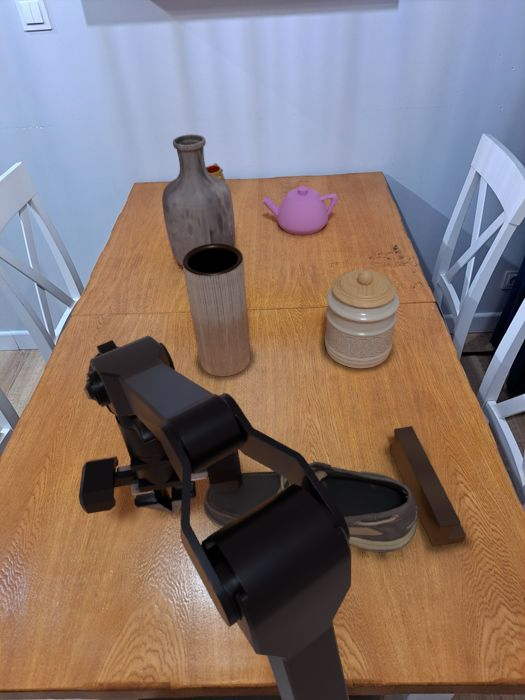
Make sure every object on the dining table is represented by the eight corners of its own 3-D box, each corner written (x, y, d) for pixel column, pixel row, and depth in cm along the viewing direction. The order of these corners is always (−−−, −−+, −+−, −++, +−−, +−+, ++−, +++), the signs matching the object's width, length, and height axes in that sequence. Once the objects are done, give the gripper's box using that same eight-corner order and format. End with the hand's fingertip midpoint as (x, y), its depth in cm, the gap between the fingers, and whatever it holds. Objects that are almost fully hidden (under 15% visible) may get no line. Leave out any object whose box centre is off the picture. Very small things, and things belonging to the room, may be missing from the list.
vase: (247, 272, 118) (237, 145, 98) (182, 288, 114) (159, 159, 94) (226, 242, 130) (214, 122, 109) (167, 255, 126) (143, 134, 106)
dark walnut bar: (463, 541, 66) (474, 519, 62) (431, 547, 66) (440, 526, 62) (416, 447, 78) (423, 423, 74) (389, 451, 78) (394, 428, 74)
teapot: (264, 214, 141) (263, 177, 134) (334, 213, 139) (336, 176, 132) (261, 237, 130) (260, 200, 123) (337, 237, 129) (339, 198, 122)
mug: (223, 194, 152) (221, 173, 147) (202, 194, 153) (199, 173, 148) (230, 178, 161) (228, 158, 156) (209, 178, 161) (207, 158, 157)
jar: (333, 321, 103) (338, 247, 91) (395, 333, 99) (409, 257, 87) (316, 362, 94) (319, 285, 82) (385, 376, 90) (398, 298, 78)
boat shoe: (213, 477, 75) (204, 433, 68) (406, 485, 73) (419, 441, 66) (201, 545, 67) (190, 504, 60) (418, 557, 65) (434, 515, 58)
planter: (192, 353, 97) (173, 252, 82) (237, 336, 100) (227, 237, 85) (212, 384, 90) (195, 281, 75) (259, 365, 94) (253, 263, 78)
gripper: (227, 373, 61) (236, 449, 71) (73, 395, 59) (106, 470, 69) (238, 445, 52) (247, 519, 63) (60, 473, 51) (99, 545, 61)
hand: (173, 510), depth 64 cm, fingers closed
